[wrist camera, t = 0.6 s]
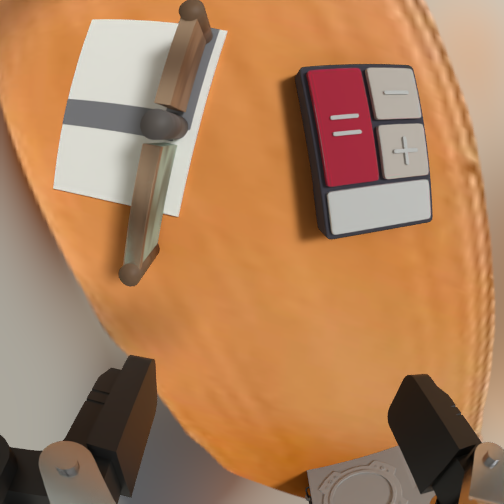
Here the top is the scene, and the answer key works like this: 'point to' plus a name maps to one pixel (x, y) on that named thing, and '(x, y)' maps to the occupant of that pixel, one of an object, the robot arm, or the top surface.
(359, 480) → the portable television
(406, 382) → the robot arm
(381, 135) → the calculator
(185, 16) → the fence fixed section
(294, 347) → the top surface
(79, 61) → the card
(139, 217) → the panel
